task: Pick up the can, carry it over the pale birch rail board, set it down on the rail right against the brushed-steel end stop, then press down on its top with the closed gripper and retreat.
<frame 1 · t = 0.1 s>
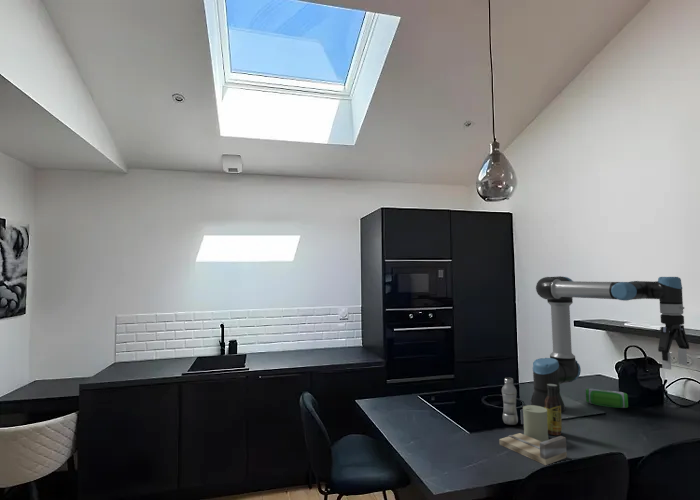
hand: (675, 366, 163), 28 cm above the kitchen island, fingers open, 13 cm apart
rail board: (531, 450, 151), on the kitchen island
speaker: (606, 406, 200), on the kitchen island
sauce bottle: (553, 433, 167), on the kitchen island
can: (536, 438, 163), on the kitchen island
plastic bottle: (510, 424, 178), on the kitchen island
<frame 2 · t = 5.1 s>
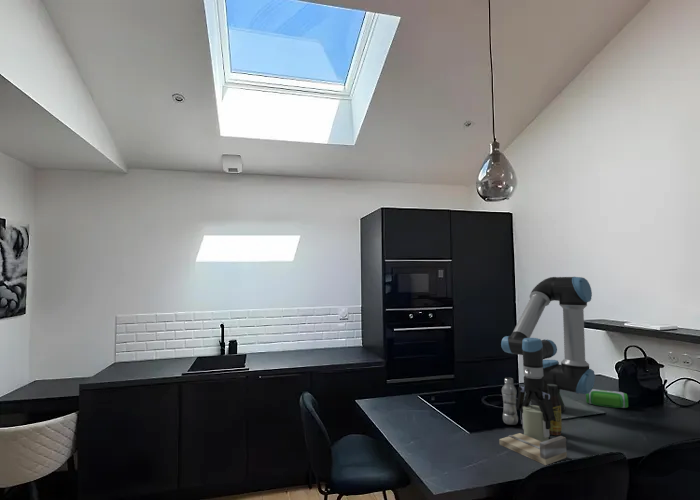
hand: (535, 432, 163), 2 cm above the kitchen island, fingers closed on can, 9 cm apart
can: (536, 437, 163), on the kitchen island, touching gripper
everything else where it was.
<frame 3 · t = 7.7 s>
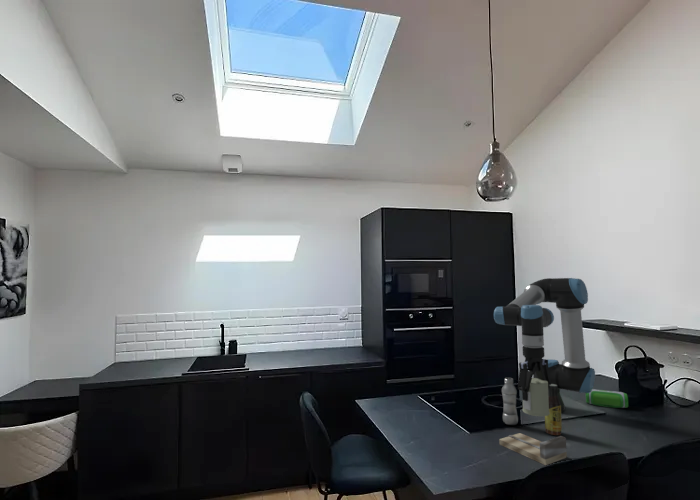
hand: (535, 406, 150), 17 cm above the kitchen island, fingers closed on can, 9 cm apart
can: (536, 412, 150), point 15 cm above the kitchen island, touching gripper
everything else where it was.
when the fingers open (5 cm above the kitchen island, at t = 10.2 s): can drops 1 cm, resting on rail board.
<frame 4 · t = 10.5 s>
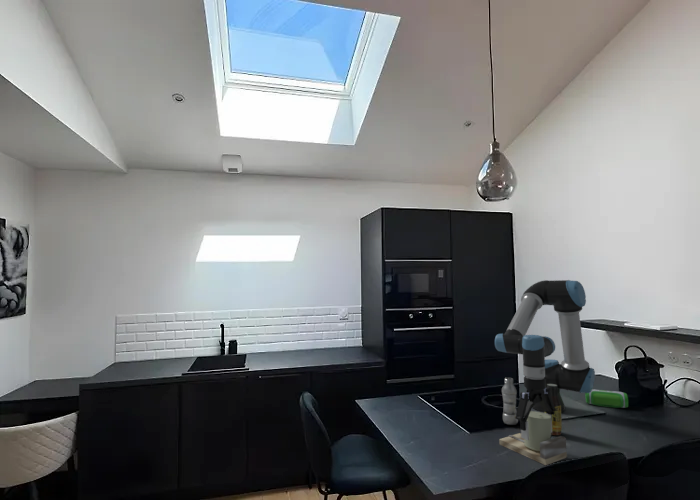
hand: (536, 435, 150), 7 cm above the kitchen island, fingers open, 13 cm apart
can: (537, 447, 149), point 2 cm above the kitchen island, touching rail board
everything else where it was.
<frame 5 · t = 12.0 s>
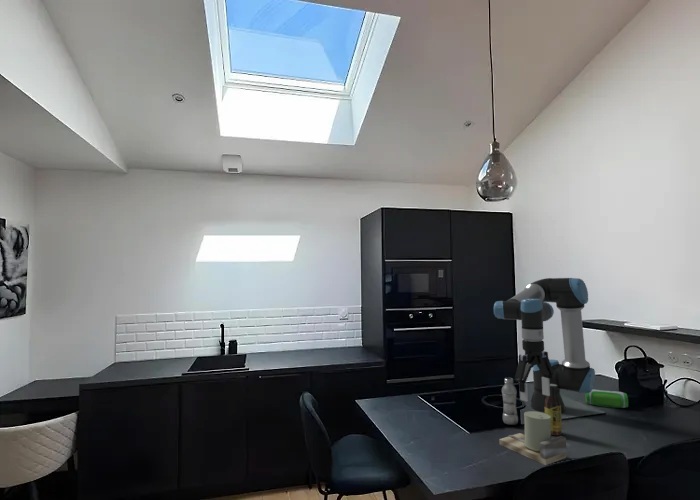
hand: (535, 397, 150), 20 cm above the kitchen island, fingers open, 12 cm apart
nothing on the kitchen island moved.
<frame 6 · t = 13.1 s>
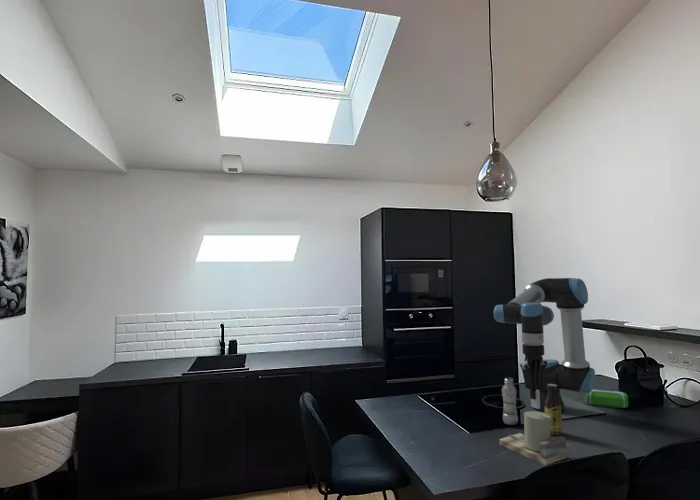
hand: (535, 407, 150), 17 cm above the kitchen island, fingers closed
nothing on the kitchen island moved.
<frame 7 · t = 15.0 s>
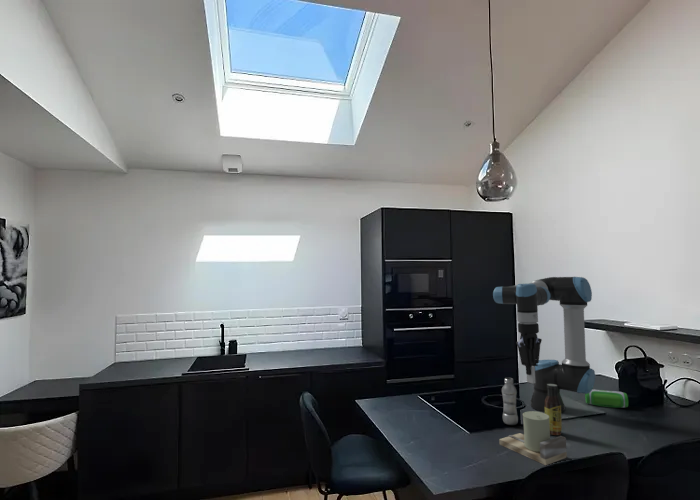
hand: (531, 382, 158), 24 cm above the kitchen island, fingers closed
nothing on the kitchen island moved.
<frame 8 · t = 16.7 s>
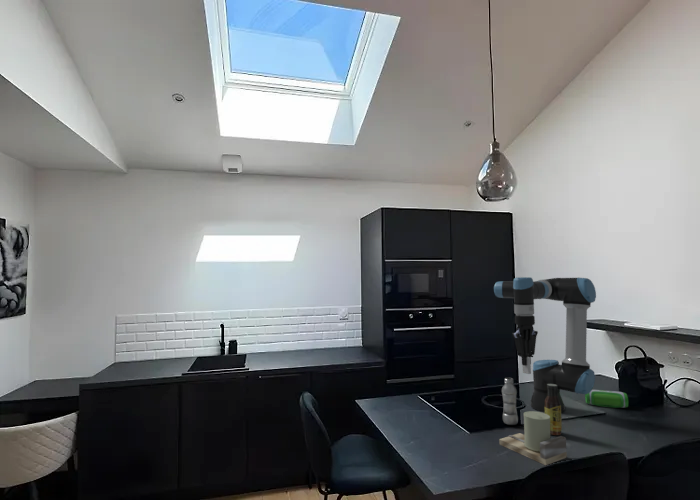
hand: (526, 373, 163), 26 cm above the kitchen island, fingers closed
nothing on the kitchen island moved.
at the end: can inside the target area on the rail board (0.3 cm from its centre), point 2.1 cm above the rail board's base; can tilted 1°; the gripper is holding nothing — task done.
